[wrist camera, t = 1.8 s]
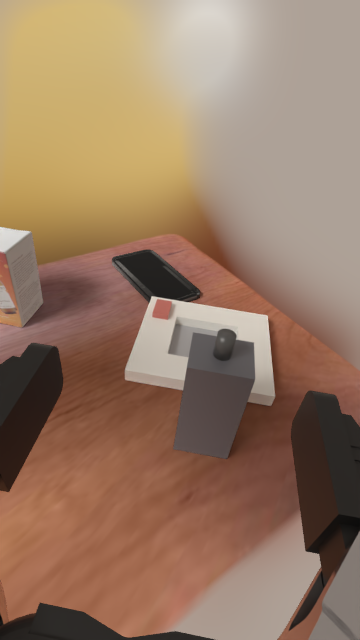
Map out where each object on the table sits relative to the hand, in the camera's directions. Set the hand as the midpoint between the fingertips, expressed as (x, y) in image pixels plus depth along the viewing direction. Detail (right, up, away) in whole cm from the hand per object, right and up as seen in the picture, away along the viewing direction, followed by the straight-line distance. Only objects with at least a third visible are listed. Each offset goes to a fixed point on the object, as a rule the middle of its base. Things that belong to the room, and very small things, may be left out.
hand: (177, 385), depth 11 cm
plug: (+2, -9, +22) cm, 24 cm away
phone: (-4, +8, +43) cm, 44 cm away
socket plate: (+3, -1, +32) cm, 32 cm away
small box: (-23, +3, +34) cm, 41 cm away
